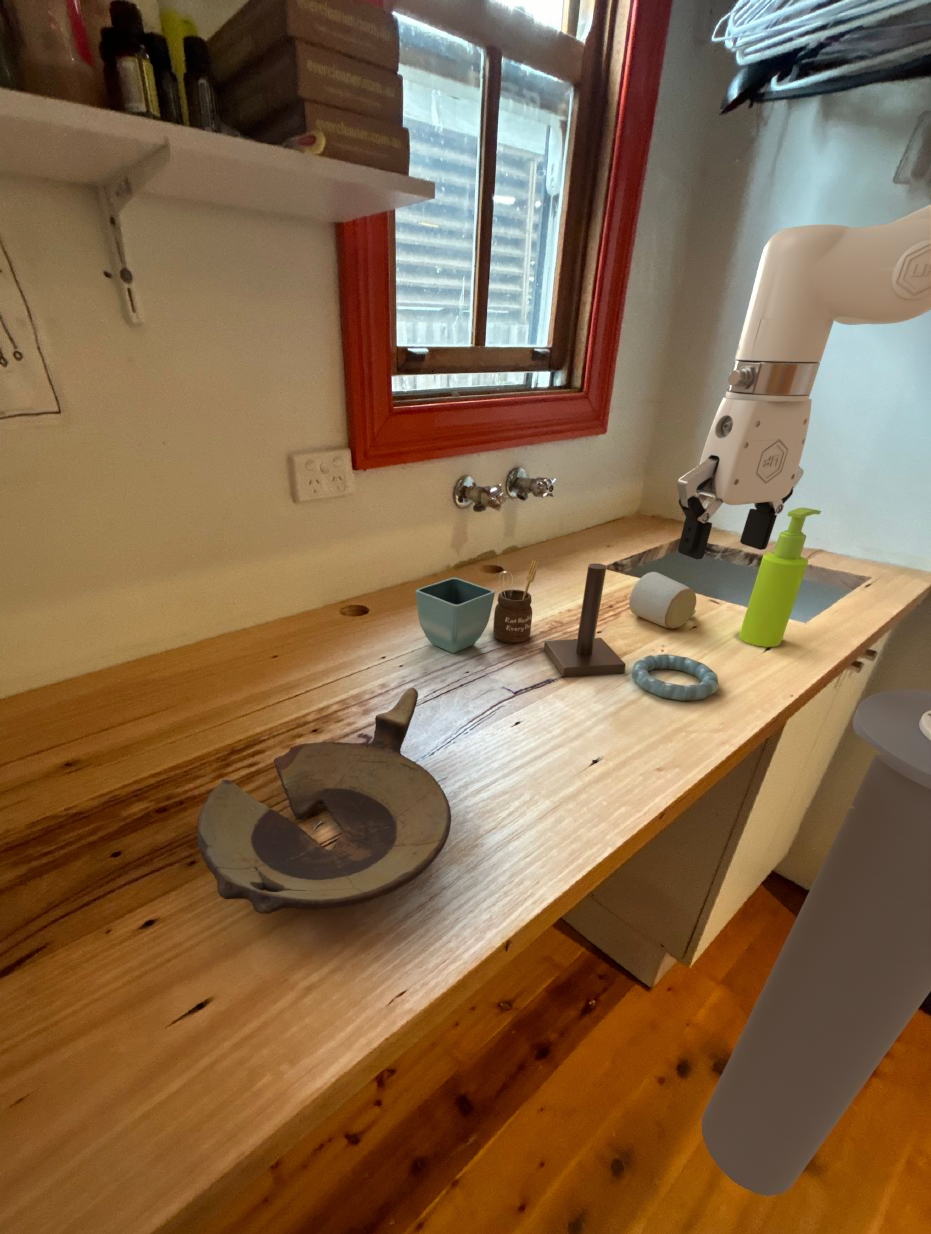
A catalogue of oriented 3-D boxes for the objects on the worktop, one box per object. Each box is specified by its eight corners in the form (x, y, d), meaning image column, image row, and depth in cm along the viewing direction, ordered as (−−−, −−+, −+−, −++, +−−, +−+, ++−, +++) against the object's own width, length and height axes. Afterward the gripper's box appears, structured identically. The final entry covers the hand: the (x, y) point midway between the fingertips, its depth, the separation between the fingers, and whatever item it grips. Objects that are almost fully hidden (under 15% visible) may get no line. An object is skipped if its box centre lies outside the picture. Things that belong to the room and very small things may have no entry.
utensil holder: (485, 632, 99) (490, 560, 93) (518, 625, 101) (525, 555, 95) (504, 646, 95) (511, 572, 89) (538, 639, 97) (547, 566, 91)
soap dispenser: (792, 639, 96) (837, 510, 86) (766, 650, 93) (810, 517, 83) (756, 627, 100) (795, 502, 90) (731, 636, 97) (768, 509, 87)
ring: (689, 662, 90) (693, 650, 89) (732, 700, 80) (736, 687, 79) (618, 666, 89) (620, 654, 88) (653, 705, 79) (656, 692, 78)
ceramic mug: (664, 635, 98) (675, 589, 94) (624, 618, 104) (633, 574, 100) (705, 622, 102) (718, 578, 98) (665, 607, 108) (675, 564, 105)
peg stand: (599, 646, 95) (615, 554, 87) (624, 673, 87) (643, 575, 79) (543, 649, 94) (554, 557, 86) (563, 677, 86) (577, 578, 79)
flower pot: (492, 645, 95) (497, 590, 91) (454, 662, 90) (456, 605, 86) (451, 628, 101) (453, 576, 96) (413, 644, 96) (413, 590, 91)
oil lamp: (155, 849, 57) (136, 785, 53) (389, 727, 75) (387, 672, 71) (292, 1010, 44) (280, 940, 40) (539, 814, 61) (547, 752, 57)
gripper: (738, 386, 55) (689, 570, 64) (864, 384, 61) (803, 552, 70) (676, 381, 61) (639, 550, 70) (796, 379, 67) (748, 535, 76)
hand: (721, 551), depth 70 cm, fingers open, 9 cm apart
